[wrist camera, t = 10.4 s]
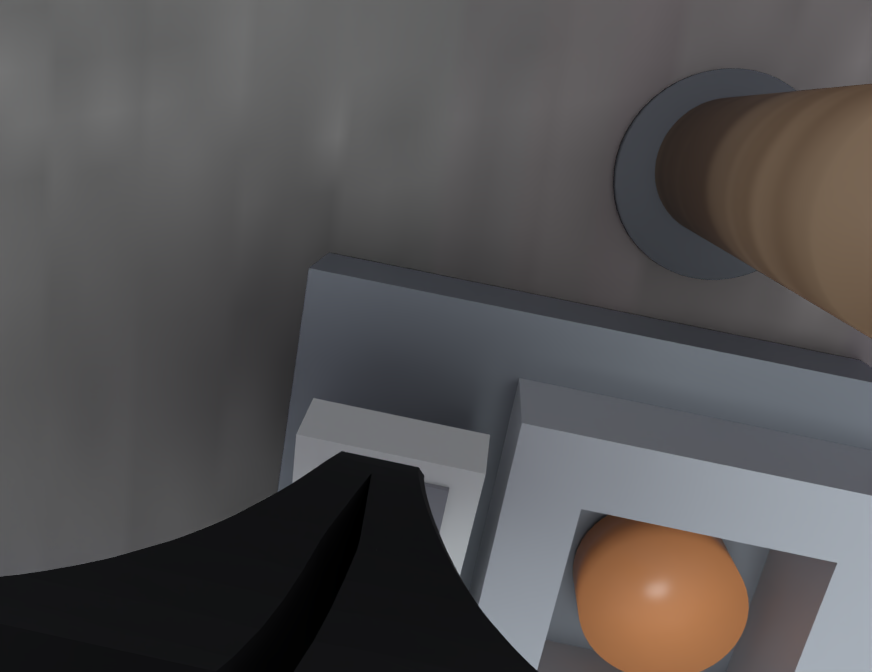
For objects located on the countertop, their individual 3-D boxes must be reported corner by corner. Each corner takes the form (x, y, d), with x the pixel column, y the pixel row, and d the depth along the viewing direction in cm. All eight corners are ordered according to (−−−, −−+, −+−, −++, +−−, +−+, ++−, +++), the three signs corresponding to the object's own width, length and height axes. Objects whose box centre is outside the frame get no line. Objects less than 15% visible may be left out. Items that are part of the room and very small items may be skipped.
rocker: (291, 625, 19) (275, 671, 18) (313, 398, 15) (294, 437, 14) (434, 657, 19) (427, 705, 18) (489, 434, 15) (485, 477, 14)
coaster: (592, 255, 18) (594, 258, 18) (643, 51, 17) (646, 49, 16) (785, 293, 18) (791, 297, 17) (851, 91, 16) (860, 90, 16)
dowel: (644, 228, 17) (784, 338, 9) (667, 91, 16) (849, 60, 8) (778, 242, 17) (1057, 368, 8) (808, 103, 16) (1152, 87, 8)
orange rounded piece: (556, 620, 18) (561, 660, 17) (593, 488, 17) (601, 519, 16) (704, 651, 18) (721, 694, 17) (750, 521, 17) (770, 555, 16)
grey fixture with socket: (273, 628, 22) (214, 757, 17) (329, 252, 18) (274, 294, 14) (725, 726, 21) (783, 885, 17) (860, 359, 18) (976, 438, 14)
